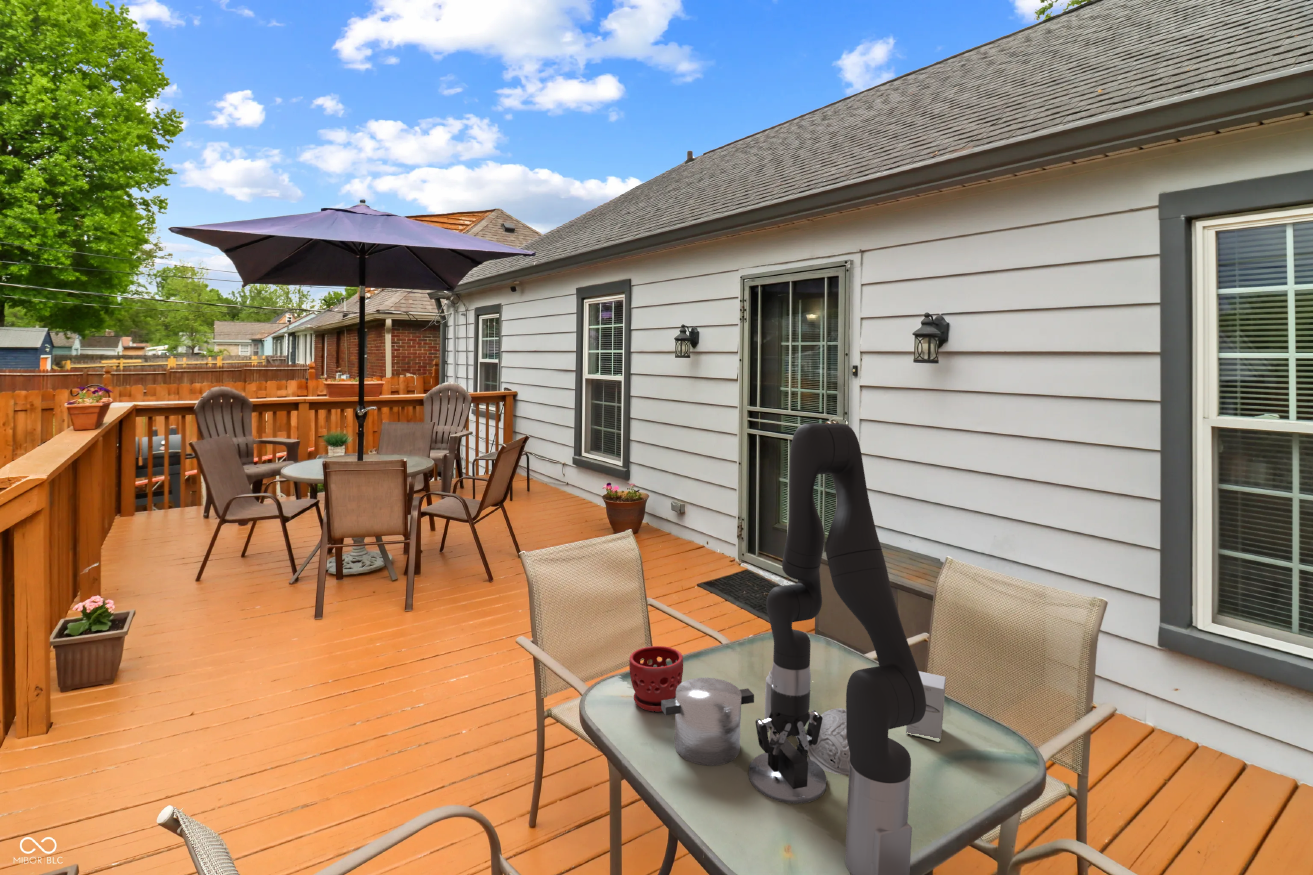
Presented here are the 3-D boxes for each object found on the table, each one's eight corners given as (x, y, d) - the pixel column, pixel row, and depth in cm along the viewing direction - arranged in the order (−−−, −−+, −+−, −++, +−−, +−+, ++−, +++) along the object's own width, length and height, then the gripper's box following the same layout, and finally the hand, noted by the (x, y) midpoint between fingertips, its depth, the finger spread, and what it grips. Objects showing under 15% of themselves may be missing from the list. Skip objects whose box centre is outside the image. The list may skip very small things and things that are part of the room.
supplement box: (905, 735, 144) (908, 680, 143) (909, 720, 150) (911, 668, 149) (940, 744, 140) (944, 688, 139) (943, 728, 147) (946, 675, 146)
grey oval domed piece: (802, 768, 130) (807, 736, 130) (808, 714, 154) (812, 687, 154) (882, 790, 126) (887, 757, 125) (875, 731, 150) (879, 704, 149)
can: (797, 734, 143) (799, 682, 142) (763, 730, 145) (765, 678, 144) (797, 717, 150) (799, 668, 150) (764, 713, 152) (766, 664, 151)
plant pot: (660, 685, 165) (661, 640, 164) (693, 706, 155) (694, 658, 154) (618, 699, 157) (618, 652, 156) (650, 722, 147) (651, 672, 146)
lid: (841, 796, 122) (843, 763, 121) (770, 811, 117) (772, 776, 117) (800, 753, 136) (802, 723, 136) (736, 764, 132) (737, 733, 131)
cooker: (764, 756, 134) (766, 701, 133) (673, 772, 128) (674, 715, 127) (736, 722, 147) (737, 672, 146) (652, 735, 141) (653, 683, 140)
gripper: (766, 698, 119) (763, 784, 121) (833, 688, 124) (829, 772, 125) (748, 680, 127) (746, 762, 128) (812, 672, 131) (809, 751, 132)
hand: (787, 766), depth 127 cm, fingers open, 5 cm apart
